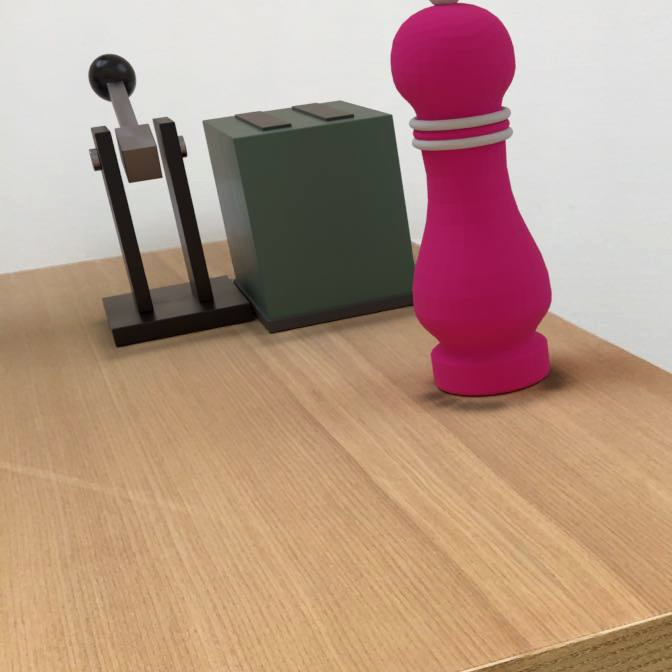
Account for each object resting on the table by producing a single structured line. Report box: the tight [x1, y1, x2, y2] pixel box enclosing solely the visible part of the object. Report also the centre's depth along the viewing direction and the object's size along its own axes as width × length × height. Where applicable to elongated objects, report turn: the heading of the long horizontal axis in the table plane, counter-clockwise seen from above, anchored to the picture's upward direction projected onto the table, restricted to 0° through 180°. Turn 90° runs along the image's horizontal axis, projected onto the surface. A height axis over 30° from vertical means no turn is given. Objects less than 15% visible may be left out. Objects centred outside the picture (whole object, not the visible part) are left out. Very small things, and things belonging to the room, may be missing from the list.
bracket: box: [88, 116, 254, 348], centre depth 82 cm, size 10×9×13 cm
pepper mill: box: [389, 0, 553, 396], centre depth 61 cm, size 7×7×20 cm
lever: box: [87, 53, 164, 184], centre depth 83 cm, size 13×3×3 cm, turn 22°
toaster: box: [201, 100, 416, 334], centre depth 83 cm, size 14×10×12 cm
